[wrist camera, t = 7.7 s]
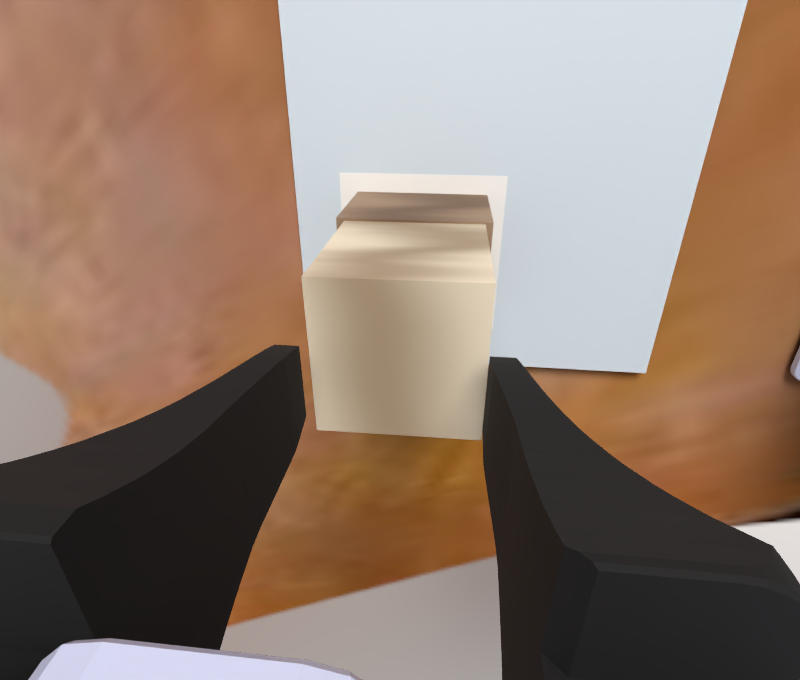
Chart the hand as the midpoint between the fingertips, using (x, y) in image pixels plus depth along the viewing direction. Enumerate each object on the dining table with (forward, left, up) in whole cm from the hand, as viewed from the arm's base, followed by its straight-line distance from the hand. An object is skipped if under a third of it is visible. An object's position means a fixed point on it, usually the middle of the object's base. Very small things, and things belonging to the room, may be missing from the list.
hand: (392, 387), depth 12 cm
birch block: (0, 0, -6) cm, 6 cm away
